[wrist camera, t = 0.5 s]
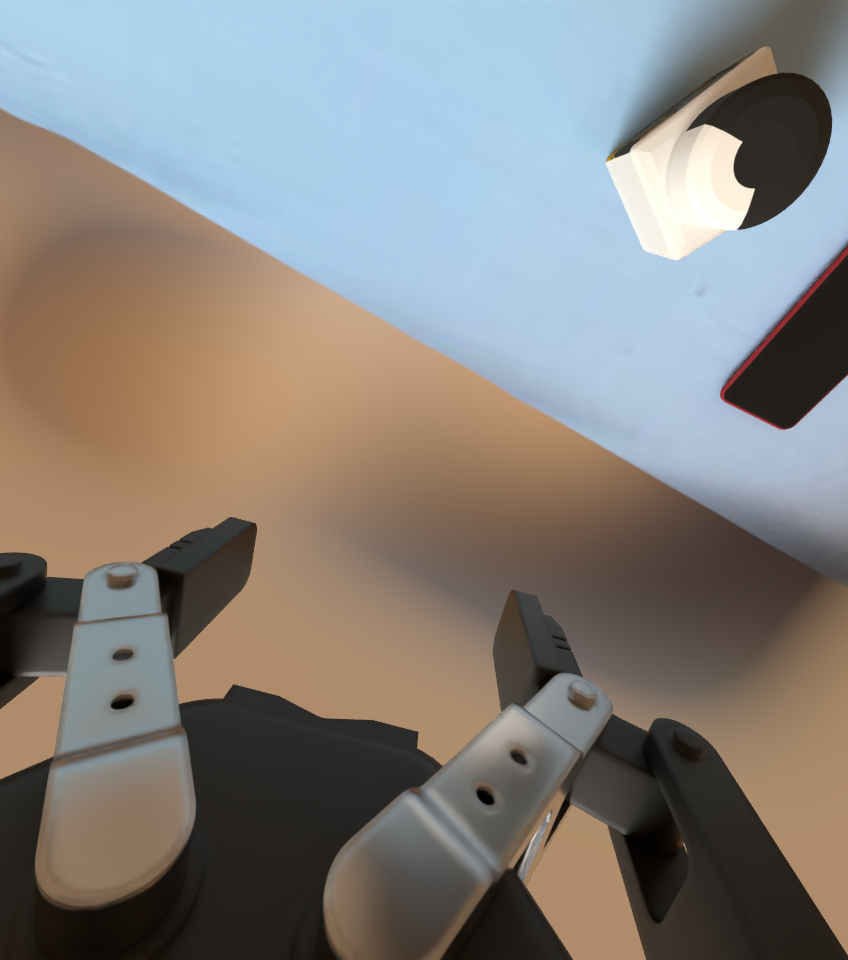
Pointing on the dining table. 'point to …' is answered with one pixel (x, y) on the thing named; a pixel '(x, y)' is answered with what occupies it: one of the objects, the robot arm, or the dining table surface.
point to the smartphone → (798, 355)
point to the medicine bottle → (723, 156)
